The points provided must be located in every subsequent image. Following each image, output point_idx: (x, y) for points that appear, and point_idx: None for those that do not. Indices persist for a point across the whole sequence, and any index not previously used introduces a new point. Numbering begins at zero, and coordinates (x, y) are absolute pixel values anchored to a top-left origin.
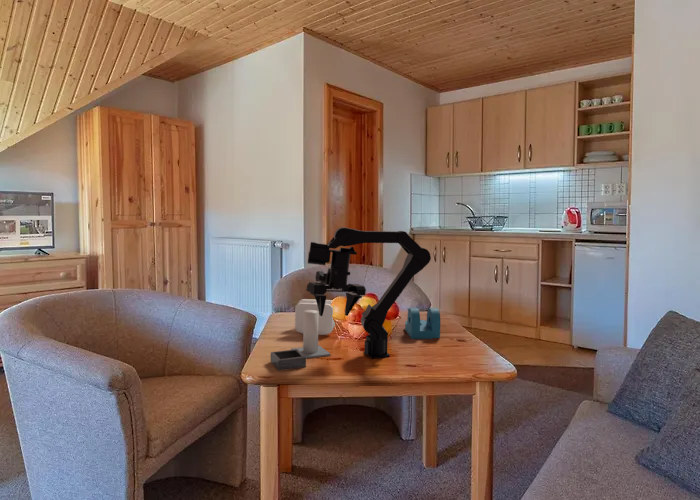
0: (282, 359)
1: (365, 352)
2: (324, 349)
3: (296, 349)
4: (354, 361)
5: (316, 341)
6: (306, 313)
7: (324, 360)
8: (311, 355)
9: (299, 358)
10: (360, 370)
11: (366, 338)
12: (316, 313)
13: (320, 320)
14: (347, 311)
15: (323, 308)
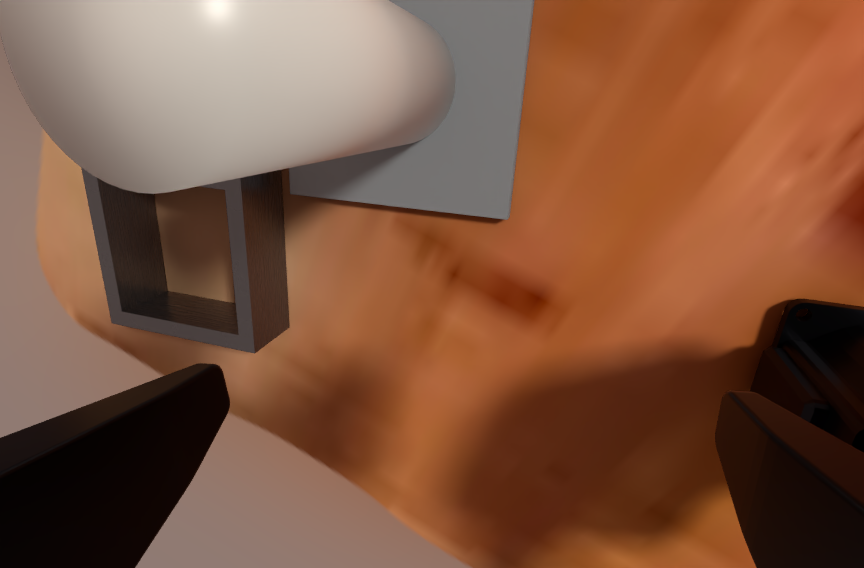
0: (131, 320)
1: (761, 368)
2: (518, 91)
3: (234, 179)
4: (592, 401)
5: (394, 142)
6: (47, 116)
7: (425, 285)
8: (366, 189)
9: (220, 343)
10: (530, 523)
11: (838, 425)
12: (201, 182)
13: None
14: (747, 529)
15: (131, 553)
